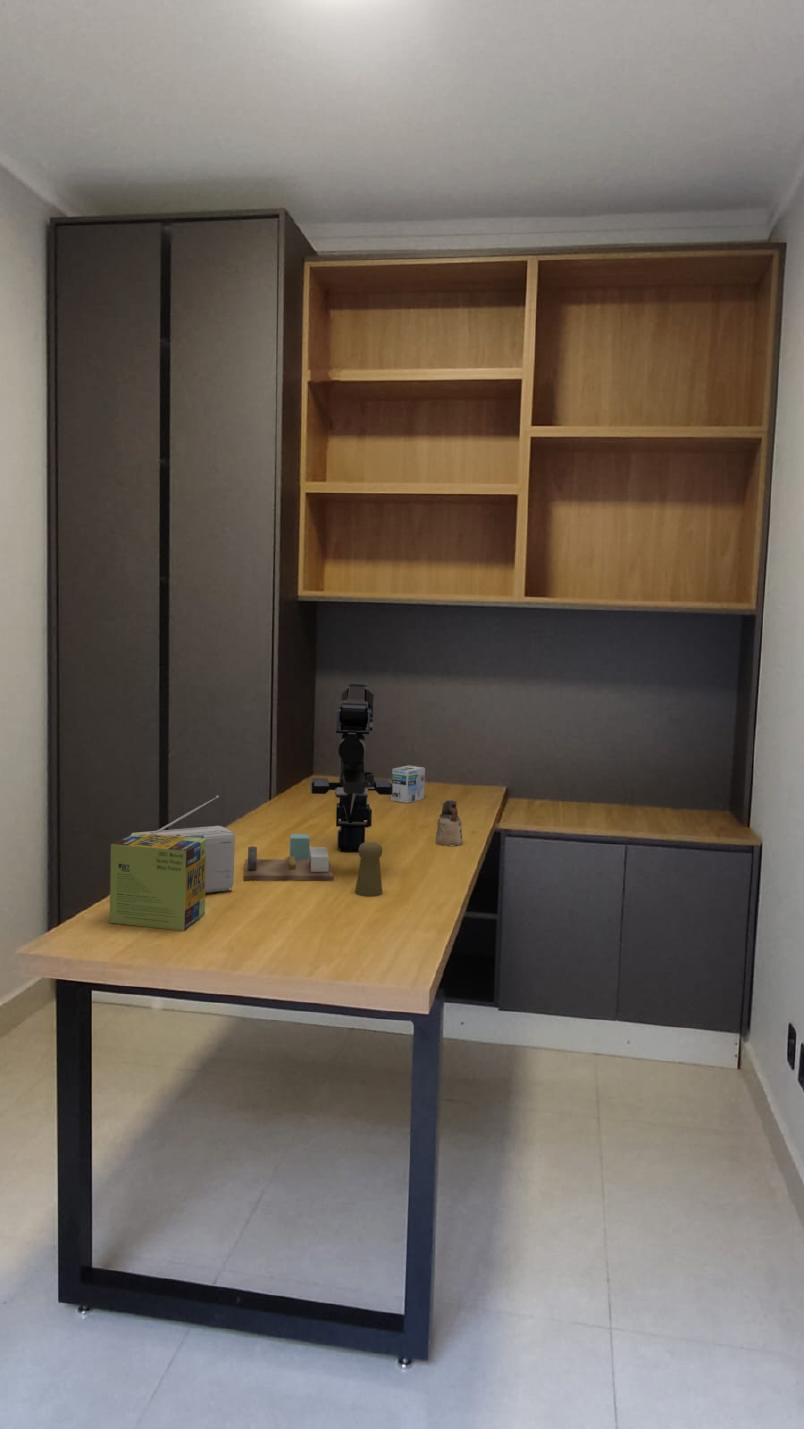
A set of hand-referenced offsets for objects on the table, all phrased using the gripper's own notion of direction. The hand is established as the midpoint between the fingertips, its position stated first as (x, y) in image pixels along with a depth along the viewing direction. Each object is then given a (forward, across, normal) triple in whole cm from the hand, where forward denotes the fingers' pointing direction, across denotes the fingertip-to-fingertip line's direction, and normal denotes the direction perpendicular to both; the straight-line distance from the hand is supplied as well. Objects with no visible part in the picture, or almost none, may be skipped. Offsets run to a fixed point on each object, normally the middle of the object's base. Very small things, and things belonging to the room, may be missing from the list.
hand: (350, 822), depth 221 cm
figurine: (+12, +30, +29) cm, 43 cm away
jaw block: (+12, -11, +11) cm, 20 cm away
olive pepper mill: (+12, +3, -16) cm, 20 cm away
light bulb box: (+12, +28, +88) cm, 93 cm away
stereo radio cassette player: (+12, -37, -16) cm, 42 cm away
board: (+12, -14, 0) cm, 18 cm away
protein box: (+12, -40, -33) cm, 53 cm away
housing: (+10, -7, 0) cm, 13 cm away
